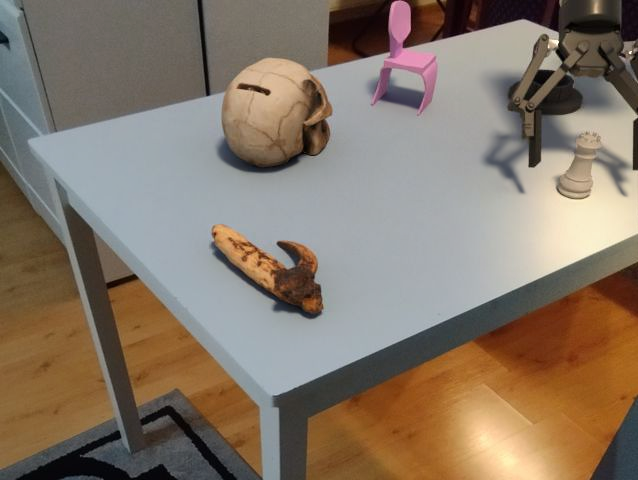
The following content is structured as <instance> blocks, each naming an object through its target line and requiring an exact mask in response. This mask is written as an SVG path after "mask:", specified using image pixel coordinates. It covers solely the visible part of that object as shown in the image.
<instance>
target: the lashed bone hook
mask: <svg viewBox="0 0 638 480" xmlns="http://www.w3.org/2000/svg"><path fill="white" fill-rule="evenodd" d="M211 236H212V239H213V241H214V246H216V247H217V248H218V250H220V251H221V252H222V253H223V255H225V257H226V258H227V259H228V261H229V262H230V263H232V264H233V266H235V267H237V268H238V269H240V270H241V271H242V272H243V273H244V274H245V275H246V276H248V277H249V278H250V279H252V280H253V281H254V282H255V283H256V284H257V285H259V286H261V287H262V288H264V289H265V290H266V291H268V292H270V293H272V294H273V295H274V296H276V297H277V298H278V299H279V300H281V301H283V302H284V303H288V304H290V305H293V306H298V307H301V308H302V311H303V312H306V313H310V314H312V315H314V314H318V313H320V312H322V310H324V309H325V307H324V304H323V300H324V299H323V296H322V284H320V283H317V282H316V281H315V277H316V274H317V271H318V267H319V262H318V258H317V255H316V254H315V253H314V252H313V251H312V250H311V249H310V248H309V247H307V246H306V245H304V244H301V243H298V242H295V241H290V240H277V241H276V244H277V245H278V246H279V247H281V248H282V249H285V250H287V251H289V252H291V253H294V254H295V255H296V256H297V258H298V260H299V262H298V264H297V265H296V266H293V267H290V268H287V267H286V266H285V265H284V264H283V263H281V262H280V261H279V260H277V259H276V258H274V257H273V256H272V255H271V254H269V253H267V252H265V251H264V250H262V249H261V248H259V247H258V246H256V245H255V243H252V242H251V241H250V240H248V239H247V238H246V237H245V236H243V234H241V233H239V232H237V231H236V230H235V229H233V228H231V227H229V226H227V225H225V224H223V223H219V224H215V225H213V226H212V228H211Z"/></svg>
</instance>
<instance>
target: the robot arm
mask: <svg viewBox="0 0 638 480" xmlns="http://www.w3.org/2000/svg"><path fill="white" fill-rule="evenodd" d="M558 4H559V6H560V7H559V9H558V38H557V39H554V38H550V36H549V35H548V34H547V33H542V34H540V36H539V37H538V39H537V40H536V41H535V43H534V44H533V46H532V47H533V49H532V54H531V55H532V57H531V60H530V62H529V64H528V66H527V67H526V69H525V71H524V73H523V75H522V77H521V79H520V80H519V81H520V83H519V85H518V86H517V88H516V90H515V92H514V94H513V96H512V98H511V100H510V99H509V101H508V104H507V111H509V112H510V113H511V112H516V113H518V114H519V115H518V116H519V118H520V119H521V139H522V141H528V161H527V162H528V163H527V164H528V165H527V166H528V168H530V169H531V168H533V169H534V168H536V167H537V166H538V165H540V163H541V162H542V134H543V133H542V132H543V131H542V129H543V127H542V125H543V124H542V123H543V121H542V120H543V114H542V110H536V111H535V108H536V107H537V106H538V105H539V104H540V102H541V101H542V100H543V99H544V98H545V97H546V96H547V95H548V94H549V92H550V91H551V90H552V89H553V88H554V87H555V86H556V85H557V83H558V82H559V81H560V80H561V79H562V78H563V77H564V76H565V75H566V74H568V73H570V75H572V76H573V77H574V78H583V77H589V78H592V79H593V78H594V79H595V78H596V79H597V78H599V77H601V76H602V78H603V79H604V80H605V82H607V83H610V84H611V85H612V87H614V89H615V90H616V91H617V93H618V94H619V95H620V96H621V97H622V98H623V100H624V101H625V102H626V104H627V105H628V106H629V107H630V108H631V109H632V111H634V113H635V114H636V116H638V38H637V39H635V40H630V41H623V38H622V36H621V30H622V0H558ZM552 52H555V54H556V56H557V57H558V59H559V60H560V62H561V64H560V65H559V66H558V68H557V69H556V70H554V71H555V72H554V73H553V74H552V76H551V77H550V78H549V79H548V80H547V81H546V82H545V83H544V85H543V86H542V87H541V88H540V89H539V90H538V91H537V92H536V93H535V95H534V96H533V97H532V98H531V99H530V100H529V101H527V100H524V99H523V98H524V96H525V94H526V93H527V91H528V89H529V87H530V85H531V83H532V81H533V79H534V77H535V75H536V74H537V72H538V70H539V69H540V68H541V66H542V64H543V62H544V60H545V59H546V58H548V57H549V56H550V55H551V54H552ZM621 54H624V56H625V60H626V61H629V66H630V68H631V70H632V72H633V74H634V76H635V77H634V76H633V75H632V74H631V73H630V72H629V70H628V69H627V65H626V63H625V61H624V60H623V59H622V58H621V57H620V55H621ZM611 67H612V68H613V69H612V68H611ZM632 171H636V172H637V171H638V117H636V118H635V119H634V120H632Z"/></svg>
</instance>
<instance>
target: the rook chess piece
mask: <svg viewBox="0 0 638 480" xmlns="http://www.w3.org/2000/svg"><path fill="white" fill-rule="evenodd" d="M601 139H602V136H601V134H598V132H596V131H593V132H592V134H591V131H590V130H586V131H582V132H580V136H578V137H577V138H576V139H575V144H576V146H577V147H576V149H575V150H573V151H574V152H573V153H574V157H573V159H572V161H571V163H570V166H569V168H568V169H567V170H565V173H563V174H562V175H561V176H560V178H559V182H558V183H557V188H558V191H559V193H560V194H562V195H563V196H565V197H568V198H571V199H576V200H577V199H578V200H581V199H585V198H586V197H587V196H589V195H590V194H591V193H592V188H593V185H594V180H593V179H592V178H593V175H592V167H593V162H594V159H595V158H597V151H598V149H600V148H602V147H603V146H602V145H603V143H602V141H601Z"/></svg>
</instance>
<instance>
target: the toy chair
mask: <svg viewBox="0 0 638 480" xmlns="http://www.w3.org/2000/svg"><path fill="white" fill-rule="evenodd" d="M411 11H412V10H411V6H410V4H409V3H408V2H406V1H405V0H395V1H393V2H392V3H391V5H390V10H389V16H388V35H389V56H387V57H386V58H385V59H383V66H382V67H381V68H380V71H379V76H378V77H379V78H378V84H377V88H376V90H375V93H374V96H373V98H372V101H371V103H370V105H371V106H374V105H375V104H376V103H377V102H378V101H379V100H380V99H381V98H382V97H383V96H384V95H385V94H386V93H387V92H388V87H389V82H390V77H391V75H392V74H391V73H392V70H393V69H397V70H404V71H407V72H411V73H414V74H417V75H419V76H420V77H421V78H422V80H423V85H424V94H423V98H422V101H421V104H420V106H419V108H418V111H417V113H416V116H420V115H421V114H422V113H423V112H424V110H425V109H426V108H427V107H428V105H430V103H431V102H432V100H433V98H434V97H433V96H434V93H435V88H436V84H437V83H436V82H437V76H438V67H439V66H438V61H437V54H435V53H431V52H430V53H429V52H423V51H416V50H413V49H412V50H411V49H409V48H405V47H403V46H404V41H405V40H406V39H407V37H408V36H409V34H410V33H411V29H412V28H411V25H412V24H411V21H412V20H411V18H412V17H411V13H412V12H411Z"/></svg>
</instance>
